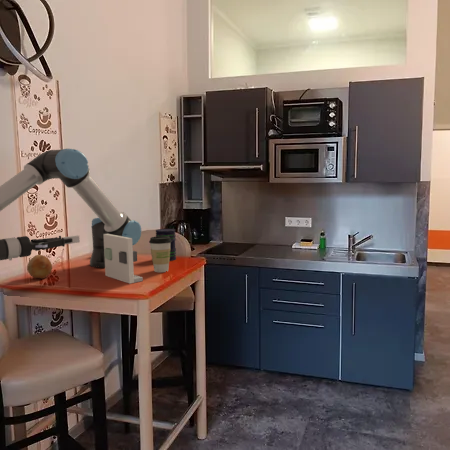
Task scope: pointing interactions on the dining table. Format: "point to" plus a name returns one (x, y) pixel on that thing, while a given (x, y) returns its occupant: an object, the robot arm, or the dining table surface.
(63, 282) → the dining table surface
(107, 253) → the sage button
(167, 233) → the storage jar
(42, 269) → the onion
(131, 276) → the button panel
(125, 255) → the black button
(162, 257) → the coffee cup
